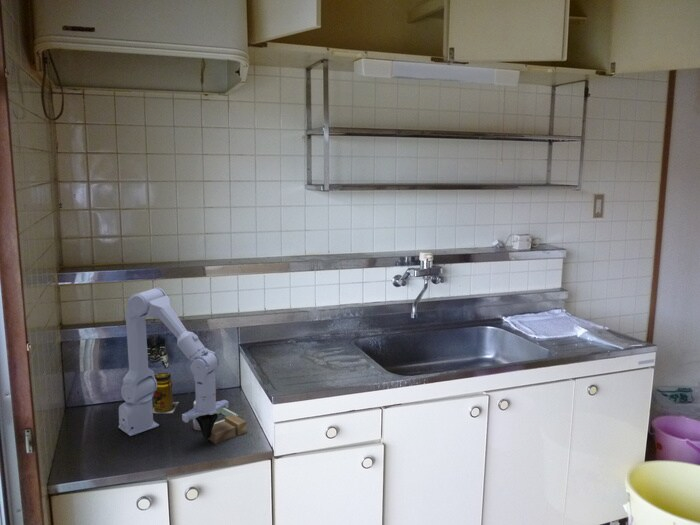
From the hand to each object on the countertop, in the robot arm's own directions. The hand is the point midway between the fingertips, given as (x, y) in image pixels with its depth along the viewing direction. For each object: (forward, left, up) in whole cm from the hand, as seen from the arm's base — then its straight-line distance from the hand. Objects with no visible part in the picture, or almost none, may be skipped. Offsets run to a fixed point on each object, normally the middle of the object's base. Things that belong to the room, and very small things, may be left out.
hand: (206, 436), depth 174 cm
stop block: (+10, 0, -1) cm, 10 cm away
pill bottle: (+4, +9, -2) cm, 10 cm away
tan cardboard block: (+5, 0, -2) cm, 5 cm away
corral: (+10, +9, -1) cm, 13 cm away
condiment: (+3, +29, -2) cm, 29 cm away
